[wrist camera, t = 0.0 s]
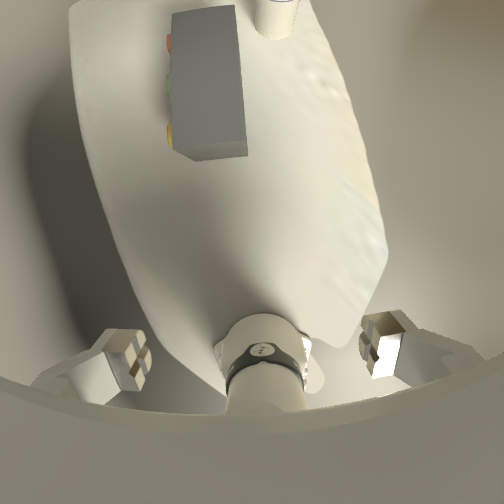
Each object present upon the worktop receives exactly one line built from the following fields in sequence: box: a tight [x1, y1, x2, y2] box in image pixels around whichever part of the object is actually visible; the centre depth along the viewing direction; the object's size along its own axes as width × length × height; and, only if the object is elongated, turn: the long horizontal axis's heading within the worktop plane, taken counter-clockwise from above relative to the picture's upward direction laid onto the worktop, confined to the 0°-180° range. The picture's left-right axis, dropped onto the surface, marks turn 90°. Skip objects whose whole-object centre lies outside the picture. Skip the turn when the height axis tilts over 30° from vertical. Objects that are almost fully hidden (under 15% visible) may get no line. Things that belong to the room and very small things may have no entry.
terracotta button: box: [167, 34, 171, 56], centre depth 33 cm, size 4×3×4 cm
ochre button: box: [167, 122, 173, 149], centre depth 36 cm, size 4×3×4 cm
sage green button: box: [166, 74, 171, 99], centre depth 35 cm, size 4×3×4 cm
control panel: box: [170, 5, 248, 161], centre depth 37 cm, size 22×9×14 cm, turn 5°
